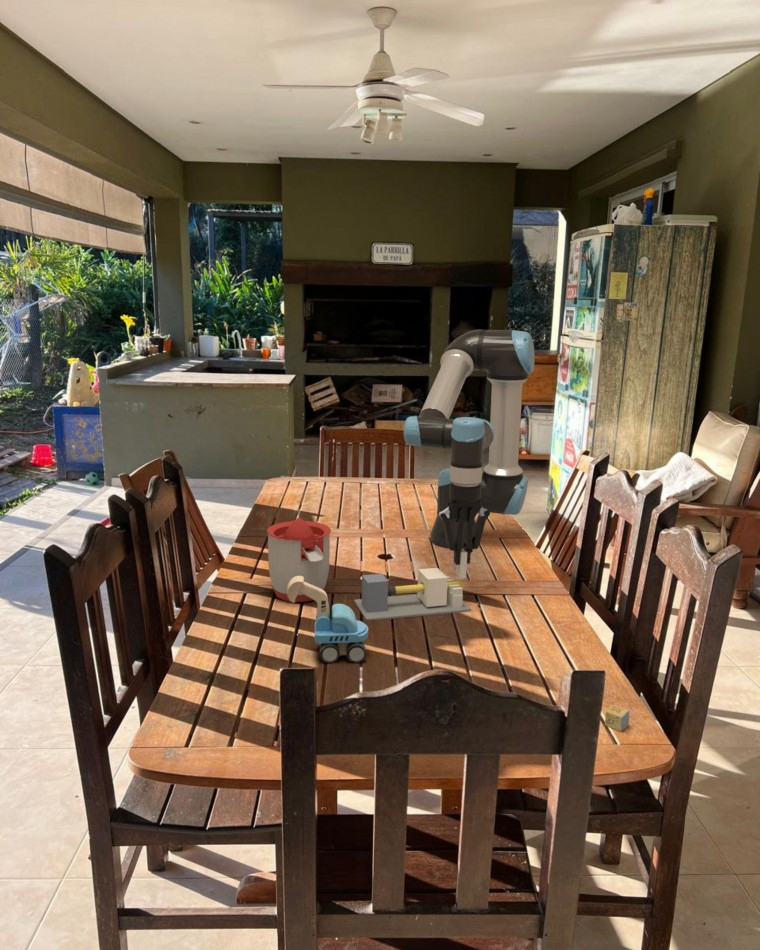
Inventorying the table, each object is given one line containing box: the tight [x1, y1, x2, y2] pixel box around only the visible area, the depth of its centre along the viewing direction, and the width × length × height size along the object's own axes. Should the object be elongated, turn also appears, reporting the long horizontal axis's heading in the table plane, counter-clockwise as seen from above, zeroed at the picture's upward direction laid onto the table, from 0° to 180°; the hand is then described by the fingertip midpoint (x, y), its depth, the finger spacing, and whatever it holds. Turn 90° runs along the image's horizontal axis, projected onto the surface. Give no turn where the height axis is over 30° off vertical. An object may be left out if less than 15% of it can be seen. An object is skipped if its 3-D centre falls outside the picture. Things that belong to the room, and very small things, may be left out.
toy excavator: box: [287, 576, 369, 664], centre depth 156 cm, size 9×17×17 cm, turn 95°
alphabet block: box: [604, 704, 631, 732], centre depth 133 cm, size 3×3×3 cm
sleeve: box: [416, 567, 448, 607], centre depth 184 cm, size 5×7×7 cm
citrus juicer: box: [266, 517, 332, 604], centre depth 186 cm, size 16×17×20 cm
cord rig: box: [353, 573, 473, 622], centre depth 182 cm, size 26×12×8 cm, turn 106°
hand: (461, 576), depth 185 cm, fingers closed
